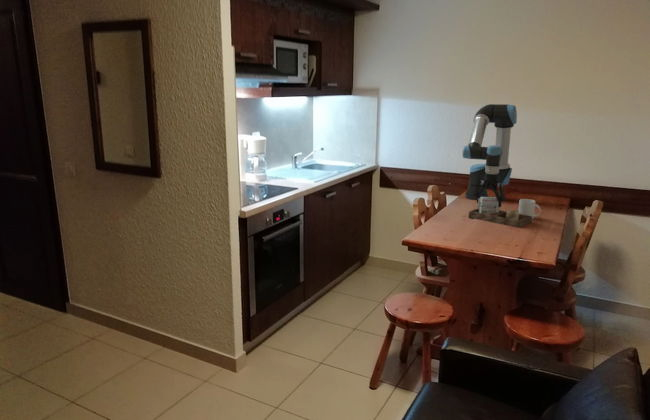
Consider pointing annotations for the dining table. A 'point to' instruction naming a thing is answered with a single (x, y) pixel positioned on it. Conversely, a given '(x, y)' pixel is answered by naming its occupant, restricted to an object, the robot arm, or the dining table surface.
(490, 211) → the ink box
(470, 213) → the storage box
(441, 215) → the dining table surface
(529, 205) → the mug
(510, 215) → the beech block
